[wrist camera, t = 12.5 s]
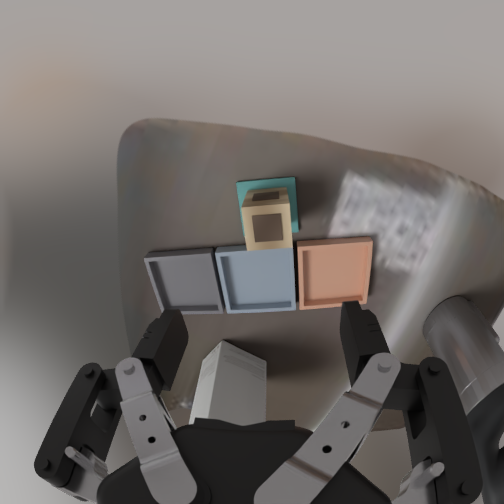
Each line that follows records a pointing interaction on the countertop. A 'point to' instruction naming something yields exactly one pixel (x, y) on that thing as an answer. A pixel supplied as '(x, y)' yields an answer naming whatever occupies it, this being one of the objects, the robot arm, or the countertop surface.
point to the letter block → (267, 219)
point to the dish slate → (256, 279)
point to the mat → (271, 183)
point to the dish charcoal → (186, 280)
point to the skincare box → (231, 387)
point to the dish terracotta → (333, 271)
